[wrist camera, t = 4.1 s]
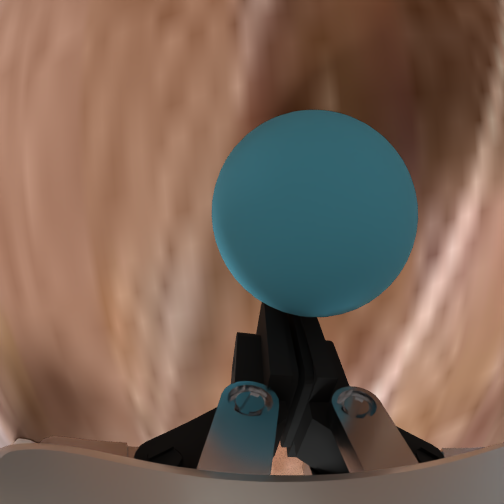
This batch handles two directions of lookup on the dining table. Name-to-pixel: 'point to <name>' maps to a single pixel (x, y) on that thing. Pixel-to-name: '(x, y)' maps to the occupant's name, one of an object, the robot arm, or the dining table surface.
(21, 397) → the dining table surface
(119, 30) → the dining table surface
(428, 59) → the dining table surface
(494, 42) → the dining table surface
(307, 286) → the ball
